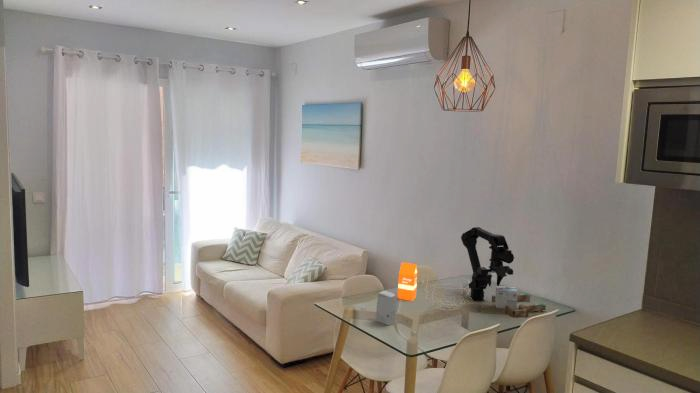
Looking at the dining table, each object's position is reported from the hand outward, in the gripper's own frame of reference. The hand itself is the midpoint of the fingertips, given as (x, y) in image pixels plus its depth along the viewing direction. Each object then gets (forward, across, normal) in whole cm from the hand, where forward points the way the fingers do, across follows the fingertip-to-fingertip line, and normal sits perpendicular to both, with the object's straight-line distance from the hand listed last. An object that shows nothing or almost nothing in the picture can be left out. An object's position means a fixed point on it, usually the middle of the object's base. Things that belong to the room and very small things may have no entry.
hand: (493, 286), depth 274 cm
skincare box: (+12, -64, -15) cm, 67 cm away
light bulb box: (+12, +8, 0) cm, 15 cm away
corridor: (+12, +15, -3) cm, 20 cm away
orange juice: (+12, -43, +18) cm, 48 cm away
